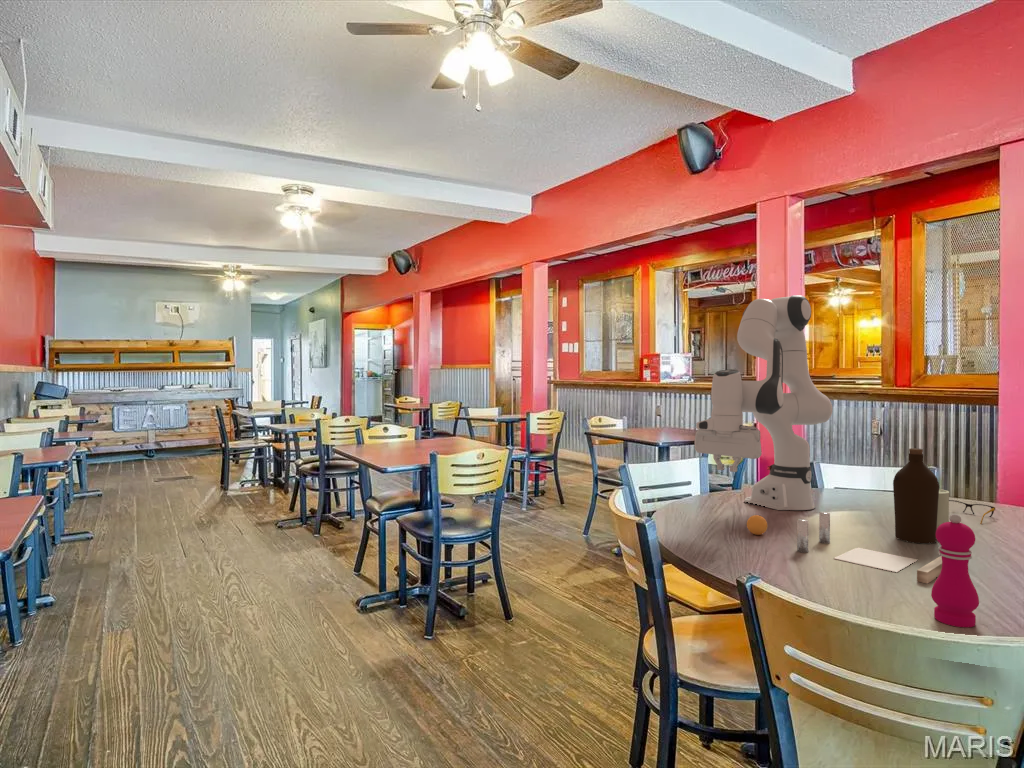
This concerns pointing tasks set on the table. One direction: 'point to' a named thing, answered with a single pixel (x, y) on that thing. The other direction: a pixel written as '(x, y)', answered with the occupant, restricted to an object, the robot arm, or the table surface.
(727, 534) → the table surface
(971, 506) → the eyeglasses
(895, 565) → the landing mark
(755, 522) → the ball
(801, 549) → the post
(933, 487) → the olive oil
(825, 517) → the post
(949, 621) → the pepper mill
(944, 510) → the can
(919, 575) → the wall
